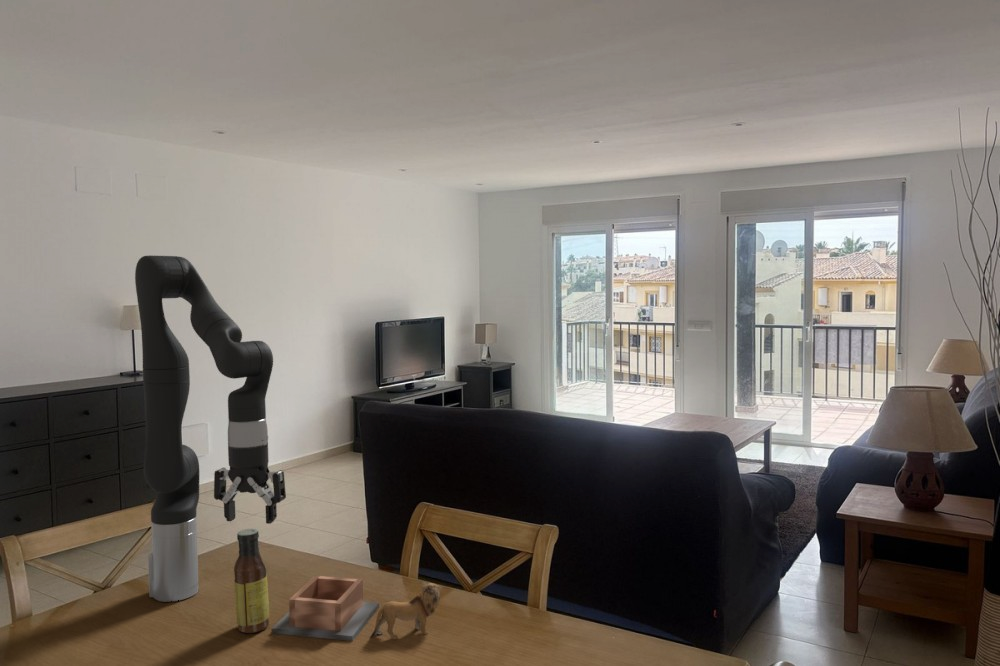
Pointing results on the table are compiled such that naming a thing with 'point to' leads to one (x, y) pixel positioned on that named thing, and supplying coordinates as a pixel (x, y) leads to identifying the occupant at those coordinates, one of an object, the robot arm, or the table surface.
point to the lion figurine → (409, 610)
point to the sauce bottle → (250, 584)
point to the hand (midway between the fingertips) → (250, 521)
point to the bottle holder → (327, 609)
